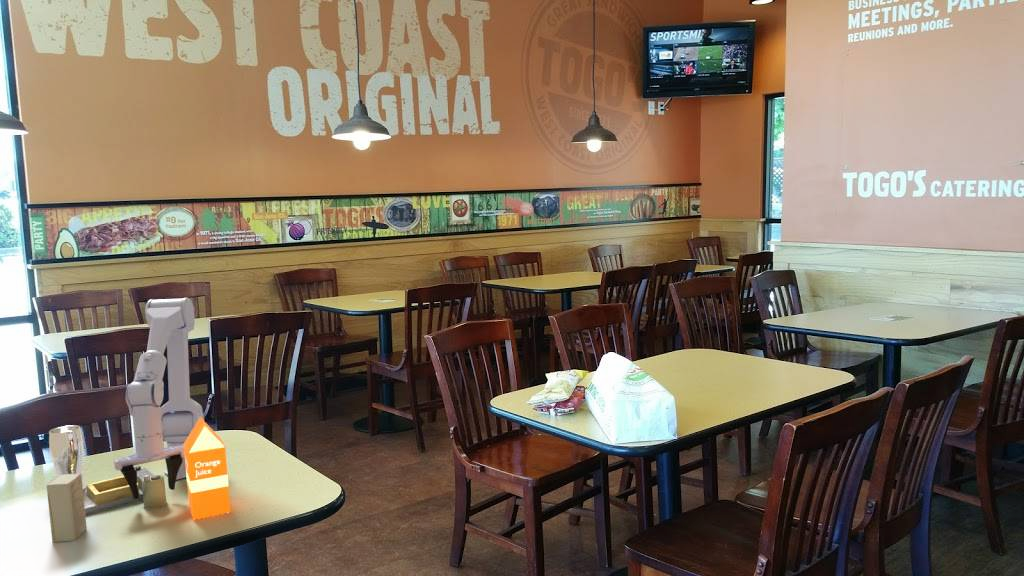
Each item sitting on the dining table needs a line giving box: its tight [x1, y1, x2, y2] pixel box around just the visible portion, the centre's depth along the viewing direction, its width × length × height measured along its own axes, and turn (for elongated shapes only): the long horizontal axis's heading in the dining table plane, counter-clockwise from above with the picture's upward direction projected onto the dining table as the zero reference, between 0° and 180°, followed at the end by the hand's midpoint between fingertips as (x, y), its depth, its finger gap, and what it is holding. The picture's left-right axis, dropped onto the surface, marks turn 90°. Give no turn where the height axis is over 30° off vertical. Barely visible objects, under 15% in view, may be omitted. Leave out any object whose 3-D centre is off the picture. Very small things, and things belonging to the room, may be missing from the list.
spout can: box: [142, 474, 167, 510], centre depth 178 cm, size 5×5×7 cm
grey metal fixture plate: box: [83, 465, 155, 516], centre depth 183 cm, size 18×12×5 cm, turn 130°
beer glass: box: [48, 425, 86, 491], centre depth 190 cm, size 7×7×15 cm
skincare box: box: [46, 473, 87, 543], centre depth 163 cm, size 6×4×12 cm
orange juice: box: [184, 417, 231, 521], centre depth 174 cm, size 8×9×20 cm
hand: (154, 493), depth 178 cm, fingers open, 7 cm apart
